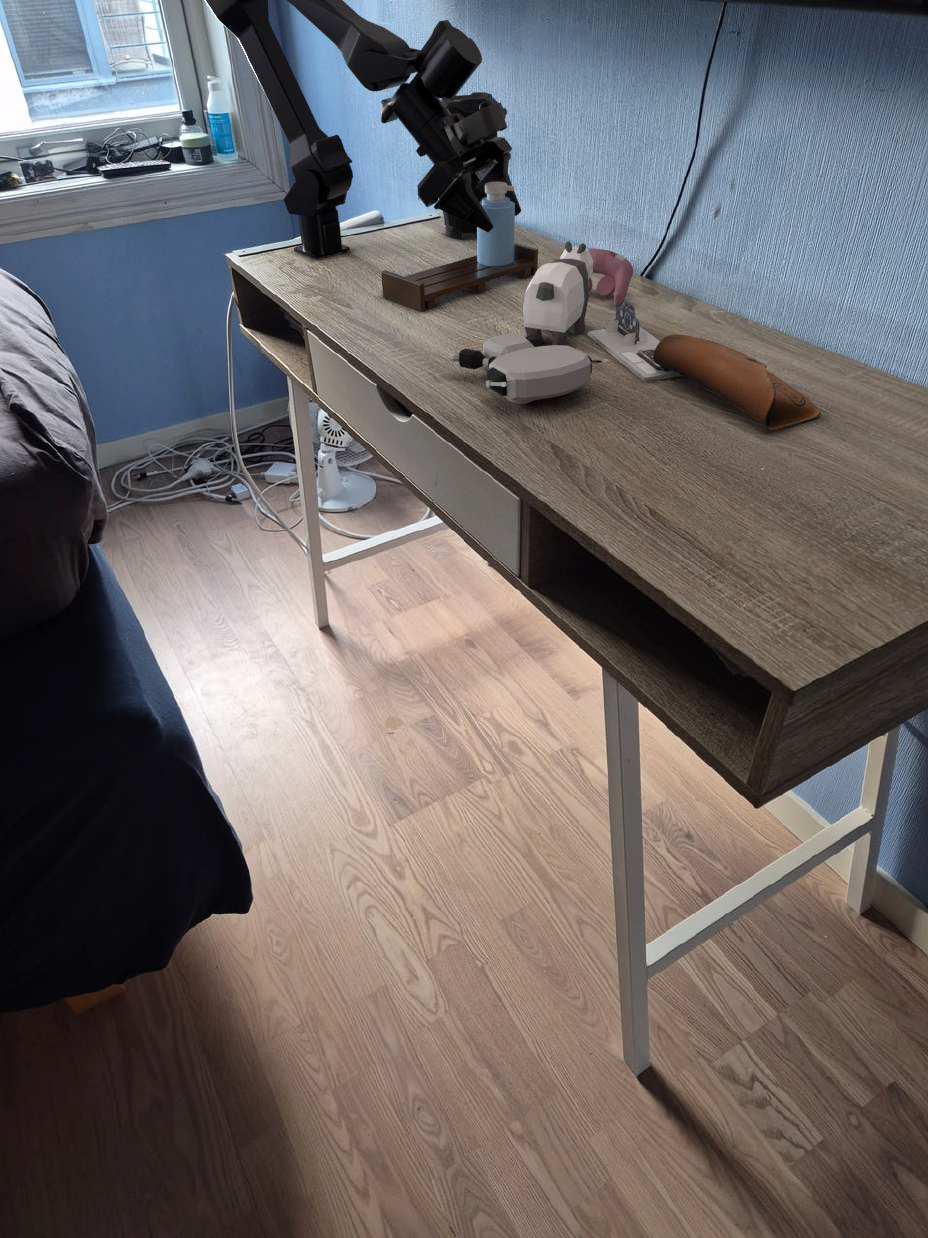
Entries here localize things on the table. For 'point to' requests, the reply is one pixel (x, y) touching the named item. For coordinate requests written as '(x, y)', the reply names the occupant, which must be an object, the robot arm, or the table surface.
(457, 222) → the portable speaker
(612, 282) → the video game controller
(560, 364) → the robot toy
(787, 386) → the sunglasses case
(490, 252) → the bottle
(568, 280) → the giant panda
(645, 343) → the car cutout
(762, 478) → the table surface
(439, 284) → the rack
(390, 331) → the table surface
